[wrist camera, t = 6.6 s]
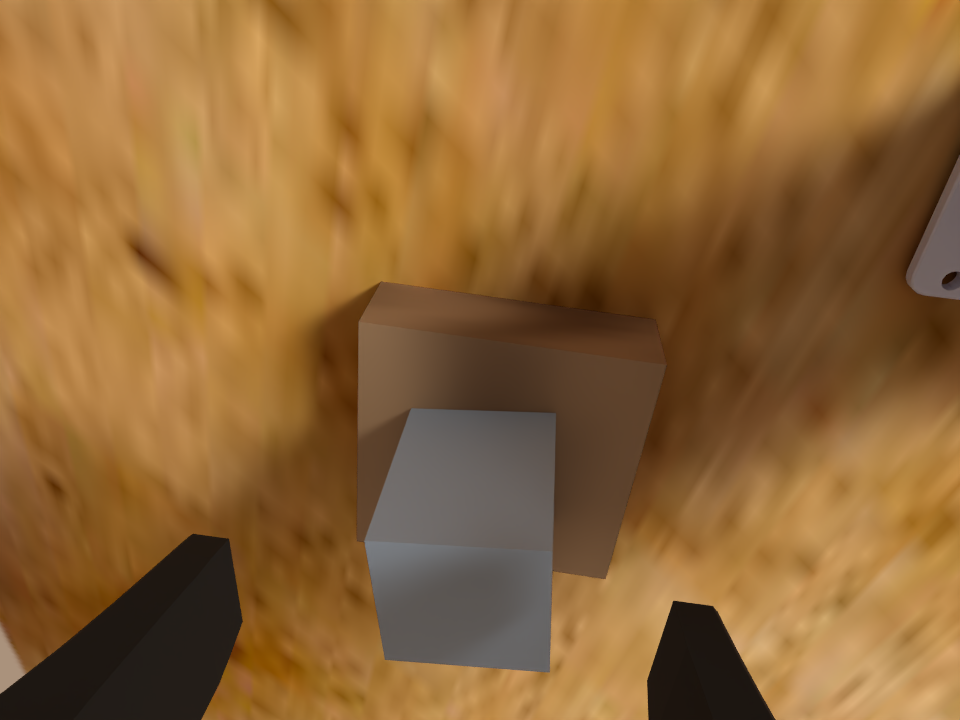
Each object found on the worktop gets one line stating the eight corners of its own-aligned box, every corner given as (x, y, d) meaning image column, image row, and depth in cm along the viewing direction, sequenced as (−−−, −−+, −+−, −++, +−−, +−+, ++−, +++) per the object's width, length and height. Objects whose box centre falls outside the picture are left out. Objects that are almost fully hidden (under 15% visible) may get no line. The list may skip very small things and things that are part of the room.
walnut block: (653, 312, 20) (666, 365, 17) (600, 512, 24) (605, 579, 21) (384, 275, 20) (358, 321, 18) (378, 479, 24) (356, 540, 22)
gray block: (555, 412, 18) (551, 551, 14) (553, 522, 20) (549, 672, 16) (411, 407, 19) (364, 540, 15) (423, 515, 21) (385, 659, 17)
